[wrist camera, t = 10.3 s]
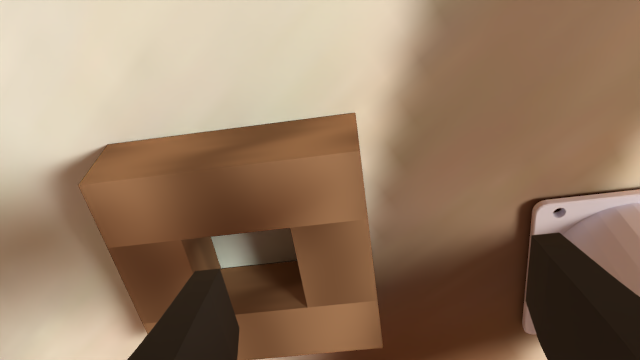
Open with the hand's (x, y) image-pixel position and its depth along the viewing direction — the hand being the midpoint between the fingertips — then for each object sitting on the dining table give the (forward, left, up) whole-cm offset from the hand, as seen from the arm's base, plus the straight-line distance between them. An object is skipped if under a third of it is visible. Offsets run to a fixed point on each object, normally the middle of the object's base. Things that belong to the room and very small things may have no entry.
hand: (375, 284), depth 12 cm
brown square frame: (+5, +5, -9) cm, 12 cm away
